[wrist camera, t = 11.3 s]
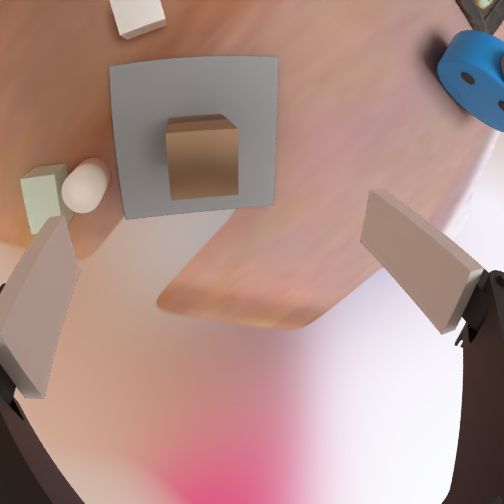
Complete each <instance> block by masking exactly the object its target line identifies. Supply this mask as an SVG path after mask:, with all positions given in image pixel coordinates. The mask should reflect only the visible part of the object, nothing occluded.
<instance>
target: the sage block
mask: <svg viewBox="0 0 504 504" xmlns="http://www.w3.org/2000/svg"><path fill="white" fill-rule="evenodd" d="M67 177H68V171H67V163H64V164H56V165H49V166H41V167H35V168H33V169H32V170H31V171H30V172H28V173H27V174H26V175H25V176H23V177H22V178H21V179H20V181H21V187H22V192H23V198H24V203H25V208H26V213H27V217H28V222H29V226H30V230H31V234H37V233H38V232H39V231H40V229H41V228H42V226H43V225H44V223H45V222H46V221H47V219H48V218H49V217H55V216H62V215H65V219H66V223H67V226H68V224H69V223H70V221H71V219H72V218H73V216H74V213H73V211H72V210H71V209H70V208H68V207H67V206H66V204H65V203H64V201H63V198H62V193H61V190H62V185H63V183H64V181H65V179H66V178H67Z"/></svg>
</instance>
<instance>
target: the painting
mask: <svg viewBox="0 0 504 504" xmlns="http://www.w3.org/2000/svg"><path fill="white" fill-rule="evenodd" d="M456 1H457V3H458V4H459V6H460V8H461V9H462V11H463V13H464V14H465V16H466V18H467V19H468V21H469V23H470V25H471V26H472V28H473V30H475V31H481V32H484V33H487V34H490V35H492V36H493V34H494V33H495V32H496V30H497V29H498V28H499V26H500V25H501V23H502V22H503V20H504V0H456Z"/></svg>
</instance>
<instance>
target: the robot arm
mask: <svg viewBox="0 0 504 504" xmlns="http://www.w3.org/2000/svg"><path fill="white" fill-rule="evenodd" d="M360 242H361V243H362V244H363V245H364V246H365V247H366V248H367V249H368V250H369V252H370V253H371V254H372V255H373V256H374V257H375V258H376V259H377V260H378V261H379V262H380V263H381V265H382V266H383V267H384V268H385V269H386V270H387V271H388V272H389V273H390V274H391V276H392V277H393V278H394V279H395V280H396V281H397V282H398V284H399V285H400V286H401V287H402V288H403V289H404V290H405V291H406V293H407V294H408V295H409V296H410V297H411V299H412V300H413V301H414V302H415V303H416V304H417V306H418V307H419V308H420V309H421V310H422V311H423V313H424V314H425V315H426V316H427V318H428V319H429V320H430V321H431V322H432V324H433V325H434V326H435V327H436V328H437V330H438V331H439V332H440V333H441V335H442V334H445V333H448V332H450V331H453V330H455V329H456V327H457V325H458V323H459V321H460V319H461V317H463V318H464V320H465V321H466V323H465V325H464V327H463V329H462V331H461V333H460V335H459V337H458V338H457V340H456V342H455V346H457V345H458V343H459V342H460V341H461V340H463V343H462V345H461V347H463V392H462V409H461V421H460V431H459V439H458V447H457V453H456V460H455V466H454V472H453V477H452V482H451V487H450V491H449V493H448V495H447V497H446V498H445V500H444V501H443V502H442V504H504V272H501V271H497V270H494V271H491V272H490V273H488V272H487V271H486V270H485V269H484V268H483V267H482V266H481V265H480V264H479V263H478V262H476V261H475V260H474V259H473V258H472V257H471V256H470V255H469V254H467V253H466V252H465V251H464V250H463V249H461V248H460V247H459V246H458V245H457V244H455V243H454V242H453V241H452V240H451V239H449V238H448V237H447V236H446V235H444V234H443V233H442V232H441V231H439V230H438V229H437V228H436V227H434V226H433V225H432V224H431V223H429V222H428V221H427V220H425V219H424V218H423V217H421V216H420V215H419V214H417V213H416V212H415V211H413V210H412V209H411V208H409V207H408V206H407V205H405V204H404V203H402V202H401V201H400V200H398V199H397V198H395V197H394V196H393V195H391V194H390V193H388V192H387V191H386V190H384V189H370V190H369V196H368V202H367V208H366V213H365V219H364V224H363V229H362V235H361V240H360ZM79 274H80V269H79V265H78V262H77V259H76V256H75V252H74V249H73V245H72V242H71V238H70V235H69V231H68V227H67V223H66V219H65V215H62V216H55V217H49V218H48V219H47V221H46V222H45V223H44V225H43V226H42V228H41V229H40V231H39V232H38V233H37V235H36V236H35V238H34V239H33V241H32V242H31V244H30V245H29V247H28V248H27V250H26V251H25V253H24V255H23V256H22V258H21V259H20V261H19V263H18V264H17V266H16V267H15V269H14V271H13V272H12V274H11V276H10V278H9V279H8V281H7V283H5V284H2V285H1V287H0V504H85V503H84V502H83V501H82V500H81V498H80V497H79V496H78V495H77V493H76V492H75V491H74V489H73V488H72V487H71V486H70V484H69V483H68V482H67V480H66V479H65V477H64V476H63V475H62V473H61V472H60V471H59V469H58V468H57V466H56V465H55V463H54V462H53V460H52V459H51V457H50V456H49V454H48V453H47V451H46V450H45V448H44V447H43V445H42V443H41V442H40V440H39V438H38V437H37V435H36V434H35V432H34V430H33V428H32V427H31V425H30V423H29V421H28V420H27V418H26V416H25V414H24V412H23V410H22V408H21V407H20V405H19V403H18V401H17V400H16V399H15V398H14V397H13V396H14V392H15V388H16V387H17V388H18V390H19V391H20V392H21V394H22V395H23V396H24V397H25V398H36V399H45V394H46V389H47V384H48V379H49V375H50V371H51V367H52V363H53V359H54V355H55V351H56V347H57V344H58V340H59V336H60V333H61V329H62V326H63V322H64V319H65V316H66V313H67V309H68V306H69V303H70V300H71V297H72V294H73V291H74V288H75V286H76V283H77V280H78V277H79Z"/></svg>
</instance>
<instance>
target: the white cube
mask: <svg viewBox="0 0 504 504" xmlns="http://www.w3.org/2000/svg"><path fill="white" fill-rule="evenodd" d="M110 4H111V7H112V11H113V14H114V17H115V21H116V24H117V27H118V31H119V34H120V36H122V37H123V38H125V39H126V40H128V39H131V38H134V37H136V36H139V35H142V34H144V33H147V32H150V31H153V30H156V29H159V28H161V27H165V26H167V23H166V19H165V15H164V12H163V9H162V5H161V2H160V0H110Z"/></svg>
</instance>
